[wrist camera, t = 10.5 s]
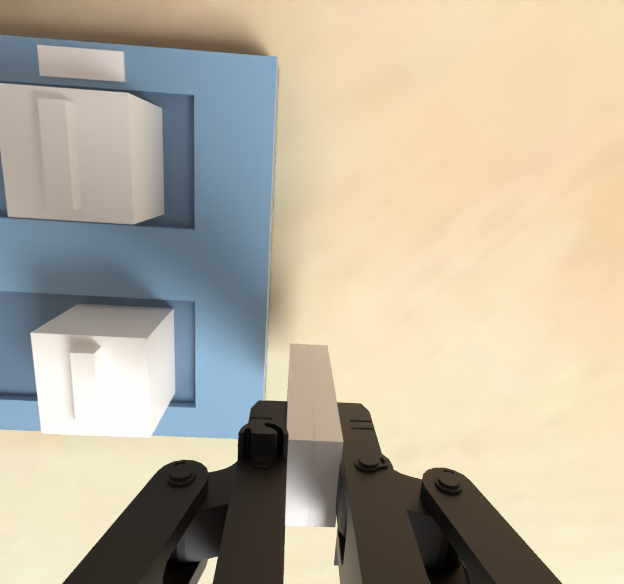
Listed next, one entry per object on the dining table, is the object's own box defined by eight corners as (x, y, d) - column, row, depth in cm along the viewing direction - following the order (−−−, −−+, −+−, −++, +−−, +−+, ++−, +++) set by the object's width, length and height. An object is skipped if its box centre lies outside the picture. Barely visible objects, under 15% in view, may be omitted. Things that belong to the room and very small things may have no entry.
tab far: (85, 388, 20) (31, 443, 16) (78, 303, 19) (19, 339, 15) (175, 392, 20) (144, 447, 16) (173, 308, 19) (141, 344, 15)
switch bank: (-151, 398, 21) (-198, 422, 19) (-238, 28, 17) (-310, 9, 15) (264, 416, 22) (261, 440, 20) (279, 68, 18) (276, 56, 16)
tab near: (63, 207, 18) (-5, 218, 14) (54, 100, 17) (-22, 78, 13) (164, 214, 18) (126, 226, 14) (161, 108, 17) (120, 89, 13)
